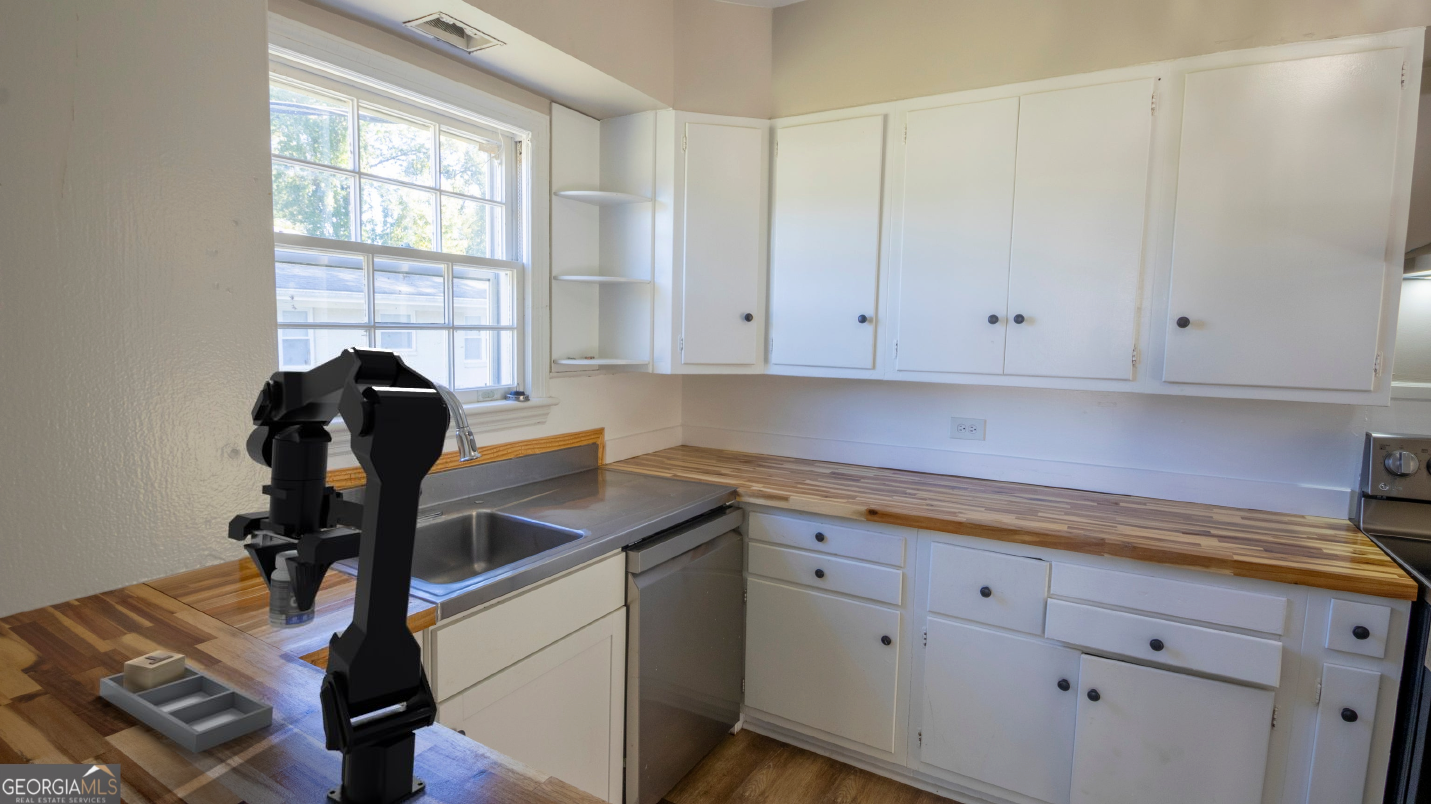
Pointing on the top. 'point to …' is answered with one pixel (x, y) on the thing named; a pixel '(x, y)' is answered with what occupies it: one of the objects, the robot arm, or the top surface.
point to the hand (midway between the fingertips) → (292, 606)
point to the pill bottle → (286, 598)
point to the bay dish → (191, 709)
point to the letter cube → (153, 671)
